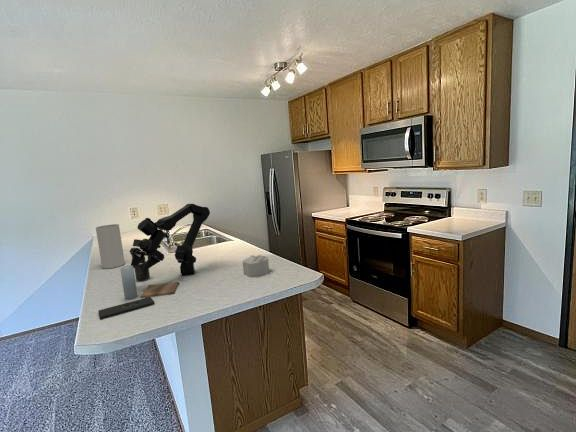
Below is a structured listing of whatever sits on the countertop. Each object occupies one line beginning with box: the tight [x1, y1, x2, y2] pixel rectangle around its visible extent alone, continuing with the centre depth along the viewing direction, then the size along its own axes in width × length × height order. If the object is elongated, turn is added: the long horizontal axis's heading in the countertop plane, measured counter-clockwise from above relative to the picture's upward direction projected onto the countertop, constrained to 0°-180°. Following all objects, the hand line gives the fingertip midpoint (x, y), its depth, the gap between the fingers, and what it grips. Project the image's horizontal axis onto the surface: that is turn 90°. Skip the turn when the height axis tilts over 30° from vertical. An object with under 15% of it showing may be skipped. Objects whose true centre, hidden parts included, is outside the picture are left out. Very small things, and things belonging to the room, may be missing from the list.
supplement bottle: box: [134, 256, 151, 282], centre depth 169 cm, size 7×7×12 cm
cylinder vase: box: [95, 223, 126, 270], centre depth 198 cm, size 12×12×25 cm
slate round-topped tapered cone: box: [119, 264, 138, 301], centre depth 144 cm, size 5×5×14 cm
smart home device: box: [98, 297, 156, 321], centre depth 133 cm, size 8×2×20 cm
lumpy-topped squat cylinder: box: [242, 254, 270, 278], centre depth 166 cm, size 10×13×9 cm
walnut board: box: [140, 281, 180, 299], centre depth 151 cm, size 14×14×1 cm
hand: (137, 270), depth 148 cm, fingers open, 9 cm apart
